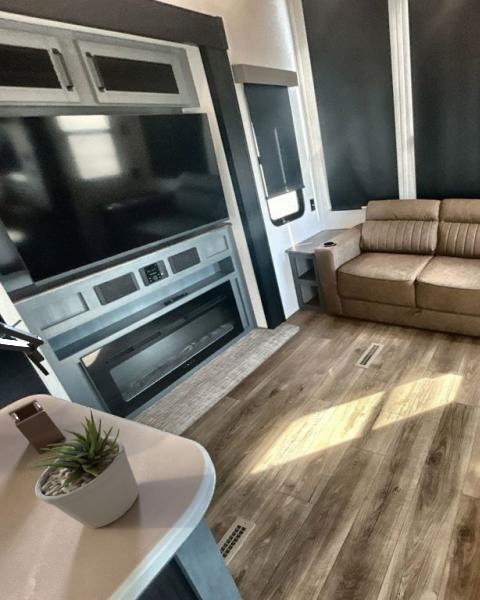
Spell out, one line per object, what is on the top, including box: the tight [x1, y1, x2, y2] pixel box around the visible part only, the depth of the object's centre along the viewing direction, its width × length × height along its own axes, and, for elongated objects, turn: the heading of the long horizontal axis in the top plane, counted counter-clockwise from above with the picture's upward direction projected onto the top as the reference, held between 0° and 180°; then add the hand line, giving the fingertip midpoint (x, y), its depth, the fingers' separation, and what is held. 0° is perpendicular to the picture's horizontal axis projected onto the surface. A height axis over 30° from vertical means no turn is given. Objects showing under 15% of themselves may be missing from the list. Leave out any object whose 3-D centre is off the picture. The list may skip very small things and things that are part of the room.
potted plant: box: [28, 409, 139, 529], centre depth 64 cm, size 13×14×20 cm
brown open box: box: [8, 398, 67, 455], centre depth 85 cm, size 8×5×9 cm, turn 54°
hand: (8, 392), depth 78 cm, fingers open, 13 cm apart
